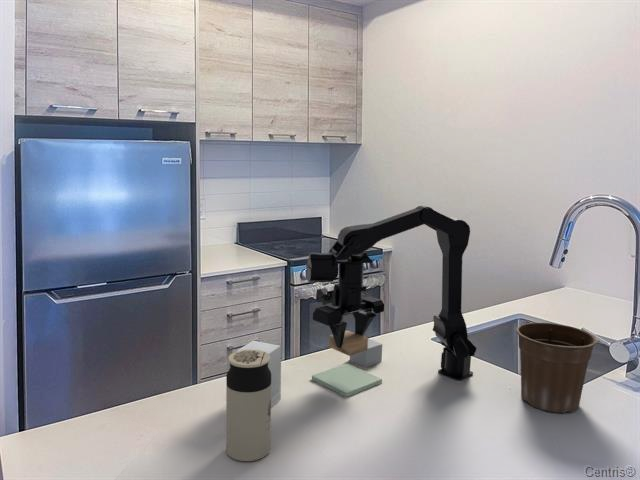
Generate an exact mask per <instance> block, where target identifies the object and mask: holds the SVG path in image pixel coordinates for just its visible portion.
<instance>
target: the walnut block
mask: <svg viewBox="0 0 640 480" xmlns="http://www.w3.org/2000/svg"><path fill="white" fill-rule="evenodd" d="M328 339H329V341H328V343H329V344H328V345H329V346H328V348H330V349H332V350H335V351H337V352H339V353H342V354H344V355H346V356H349V357H350V356H351V355H354V354H357V353H360V352H363V351H366V350H368V339H369V338H368V337H367V336H364V335H363V336H361V335H359V334H356V333H355V332H353V331H351V330H345V334H344V339H343V343H342V346H341V348H338V347H337V346H336V343H335V340H334V337H333V334H332V333H331V334H330V335H329V337H328Z"/></svg>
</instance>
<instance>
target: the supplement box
mask: <svg viewBox="0 0 640 480" xmlns="http://www.w3.org/2000/svg"><path fill="white" fill-rule="evenodd" d="M240 350H260V351H264V352H266V353H268V354H269V355H270V361H269V362H268V368H269V370H270V371H271V408H272V407H274V406H275V405H277V403H278V402H279V401H280V400H282V399H281V398H282V397H281V396H282V390H281V389H282V385H281V384H282V345H279V344H272V343H268V342H263V341H257V340H252V341H250V342H249V343H247V344H246V345H244V346H242V347H240V348H239V349H237V350H235V352H237V351H240Z"/></svg>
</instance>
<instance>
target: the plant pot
mask: <svg viewBox="0 0 640 480" xmlns="http://www.w3.org/2000/svg"><path fill="white" fill-rule="evenodd" d="M516 333H517V335H518V348H519V349H520V353H519V354H520V356H519V357H520V388H521V389H520V393H521V394H520V396H521V399H522V400H523V401H524V402H527V403H528V404H529V406H530V407H533V408H536V409H538V410H540V411H543V412H549V413H556V414H564V413H566V412H570V413H574V412H576V411H577V410H578V409H579V407H580V404H581V398H582V394H583V393H582V392H583V388H584V383H585V379H586V374H587V369H588V365H589V361H590V360H591V358H592V354H593V350H594V346H595V345H596V344H597V342H598V341H597V338H596V337H595V336H594V335H593V334H592V333H590V332H588V331H586V330H583V329H581V328H577V327H574V326H569V325H565V324H559V323H555V322H554V323H553V322H527V323H523V324H520V325H518V326H517V327H516Z"/></svg>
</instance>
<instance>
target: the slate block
mask: <svg viewBox="0 0 640 480" xmlns="http://www.w3.org/2000/svg"><path fill="white" fill-rule="evenodd" d="M349 360H350V361H351V362H353V363H355V364H358V365H360V366H363V367H365V368H367V367H369V366H373V365H375V364H378V363H381V362H382V360H383V343H381V342H378V341H376V340H373V339H370V338H368V350H366V351H363V352H360V353H357V354H354V355H351V356H349Z"/></svg>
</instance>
